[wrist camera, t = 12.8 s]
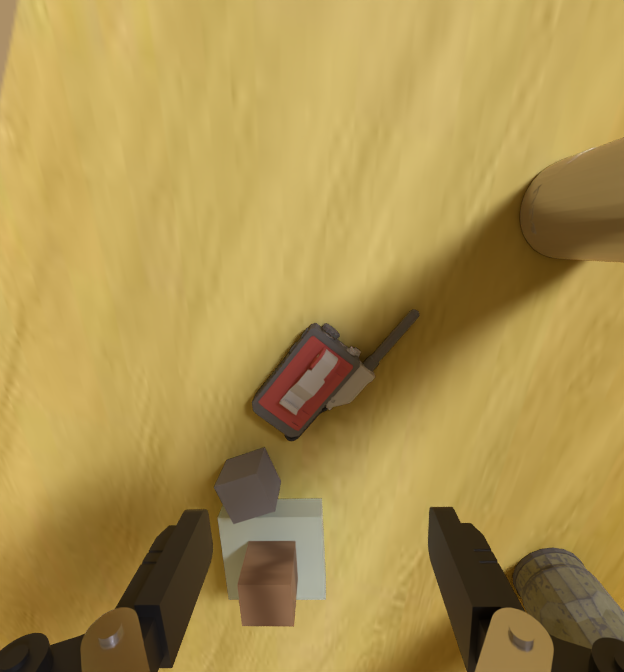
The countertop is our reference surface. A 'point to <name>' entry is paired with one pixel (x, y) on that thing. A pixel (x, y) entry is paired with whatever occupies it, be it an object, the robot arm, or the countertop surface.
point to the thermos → (567, 598)
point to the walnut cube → (268, 584)
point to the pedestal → (282, 525)
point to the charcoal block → (248, 486)
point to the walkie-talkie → (318, 377)
